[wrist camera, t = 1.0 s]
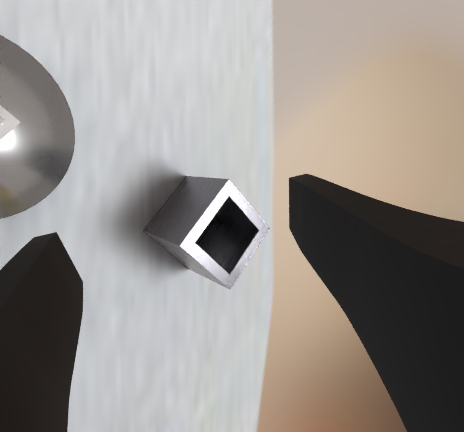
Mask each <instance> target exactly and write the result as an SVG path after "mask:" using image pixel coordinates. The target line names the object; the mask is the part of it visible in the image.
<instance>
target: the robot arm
mask: <svg viewBox="0 0 464 432" xmlns="http://www.w3.org/2000/svg"><path fill="white" fill-rule="evenodd" d="M289 227H290V230H291V232H292V234H293V236H294V238H295V240H296V242H297V244H298V246H299V248H300V250H301V251H302V253H303V254H304V256H305V257H306V259H307V260H308V262H309V263H310V264H311V266H312V267H313V269H314V270H315V271H316V273H317V274H318V276H319V277H320V278H321V280H322V281H323V282H324V284H325V285H326V287H327V288H328V289H329V291H330V292H331V293H332V295H333V296H334V298H335V299H336V300H337V302H338V303H339V305H340V306H341V308H342V309H343V311H344V312H345V314H346V315H347V317H348V319H349V321H350V322H351V324H352V326H353V328H354V329H355V331H356V333H357V334H358V336H359V338H360V340H361V342H362V343H363V345H364V347H365V349H366V351H367V353H368V355H369V356H370V358H371V360H372V362H373V364H374V366H375V368H376V369H377V371H378V373H379V375H380V377H381V379H382V381H383V383H384V385H385V387H386V389H387V391H388V393H389V395H390V397H391V399H392V401H393V403H394V405H395V407H396V409H397V411H398V413H399V415H400V417H401V419H402V422H403V423H404V426H405V428H406V430H407V432H464V222H461V221H455V220H450V219H445V218H440V217H436V216H432V215H428V214H424V213H420V212H416V211H412V210H409V209H405V208H402V207H398V206H395V205H392V204H389V203H386V202H383V201H380V200H377V199H374V198H371V197H368V196H365V195H362V194H360V193H357V192H355V191H352V190H349V189H347V188H344V187H342V186H339V185H337V184H334V183H331V182H329V181H326V180H324V179H321V178H318V177H315V176H312V175H309V174H304V175H300V176H295V177H291V178H289ZM82 312H83V281H82V279H81V277H80V275H79V274H78V272H77V270H76V268H75V266H74V264H73V262H72V260H71V259H70V257H69V255H68V253H67V251H66V249H65V247H64V245H63V243H62V242H61V240H60V238H59V236H58V234H57V232H55V233H51V234H47V235H42V236H38V237H34V238H33V239H32V240H31V241H29V242H28V243H27V244H26V245H25V246H24V247H23V248H22V249H21V250H20V251H19V252H18V253H17V254H16V255H15V256H14V257H13V258H12V259H11V260H10V261H9V262H8V263H7V264H6V265H5V266H4V267H3V268H2V269H1V270H0V432H67V426H68V407H69V396H70V388H71V381H72V375H73V369H74V363H75V356H76V350H77V344H78V338H79V332H80V326H81V319H82Z"/></svg>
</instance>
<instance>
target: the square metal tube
mask: <svg viewBox="0 0 464 432" xmlns="http://www.w3.org/2000/svg"><path fill="white" fill-rule="evenodd" d="M213 217H214V218H215V219H216V220H215V222H214V223H213V225H212V226H211V227H210V229H209V230H208V232H207V233H206V234H205V236H204V237H203V238H202V240H201V241H200V243H199V244H198V245H197V244H196V243H195V242H196V241H197V239H198V238H199V236H200V235H201V234H202V232H203V231H204V230H205V228H206V227H207V225H208V224H209V223H210V221H211V220H212V219H213ZM269 229H270V228H269V227H268V225H267V224H266V223H265V222H264V221H263V219H262V218H261V217H260V216H259V215H258V213H257V212H256V211H255V210H254V209H253V207H252V206H251V205H250V204H249V203H248V201H247V200H246V199H245V198H244V197H243V195H242V194H241V193H240V192H239V191H238V189H237V188H236V187H235V186H234V185H233V183H232V182H231V181H230V180H229V179H218V178H205V177H192V176H186V178H185V179H184V180H183V181H182V183H181V184H180V185H179V186H178V188H177V189H176V190H175V191H174V193H173V194H172V195H171V196H170V198H169V199H168V200H167V201H166V203H165V204H164V205H163V206H162V208H161V209H160V210H159V211H158V213H157V214H156V215H155V216H154V218H153V219H152V220H151V221H150V223H149V224H148V225H147V226H146V228H145V229H144V230H143V231H144V232H145V233H146V234H148V235H149V236H150V237H151V238H152V239H154V240H155V241H156V242H157V243H158V244H160V245H161V246H162V247H163V248H164V249H166V250H167V251H168V252H169V253H171V254H172V255H173V256H174V257H175V258H177V259H178V260H179V261H180V262H181V263H183V264H184V265H185V266H186V267H187V268H189V269H190V270H192V271H194V272H196V273H198V274H200V275H202V276H204V277H206V278H208V279H210V280H212V281H214V282H216V283H218V284H220V285H222V286H224V287H226V288H228V289H231V287H232V286H233V284H234V283H235V281H236V280H237V278H238V276H239V275H240V273H241V272H242V270H243V269H244V267H245V266H246V264H247V263H248V261H249V260H250V258H251V257H252V255H253V253H254V252H255V250H256V249H257V247H258V246H259V244H260V243H261V241H262V240H263V238H264V237H265V235H266V233H267V232H268V230H269Z"/></svg>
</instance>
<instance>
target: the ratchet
mask: <svg viewBox="0 0 464 432" xmlns="http://www.w3.org/2000/svg"><path fill="white" fill-rule="evenodd" d="M74 144H75V130H74V123H73V118H72V114H71V111H70V108H69V105H68V103H67V101H66V98H65V96H64V94H63V93H62V91H61V89H60V88H59V86H58V84H57V83H56V82H55V80H54V79H53V78H52V76H51V75H50V74H49V73H48V71H47V70H46V69H45V68H44V67H43V66H42V65H41V64H40V63H39V62H38V61H37V60H36V59H35V58H33V57H32V56H31V55H30V54H29V53H28V52H26V51H25V50H23V49H22V48H21V47H19V46H18V45H17V44H15V43H13V42H11V41H10V40H8V39H6V38H5V37H3V36H1V35H0V219H1V218H5V217H9V216H12V215H15V214H17V213H20V212H22V211H25V210H27V209H28V208H30V207H32V206H34V205H36V204H37V203H39V202H40V201H41V200H43V199H44V198H46V197H47V196H48V195H49V194H50V193H51V192H52V191H53V190H54V189H55V188H56V187H57V185H58V184H59V183H60V182H61V180H62V179H63V177H64V175H65V174H66V172H67V170H68V168H69V165H70V163H71V160H72V156H73V152H74Z"/></svg>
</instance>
